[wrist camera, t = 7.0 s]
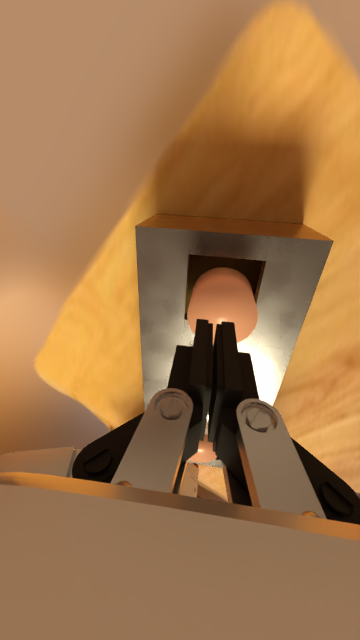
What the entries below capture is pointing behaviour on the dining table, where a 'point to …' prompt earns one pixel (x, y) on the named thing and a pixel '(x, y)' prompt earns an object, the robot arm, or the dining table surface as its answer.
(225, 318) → the near knob
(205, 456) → the far knob
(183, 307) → the knob housing
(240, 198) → the dining table surface
